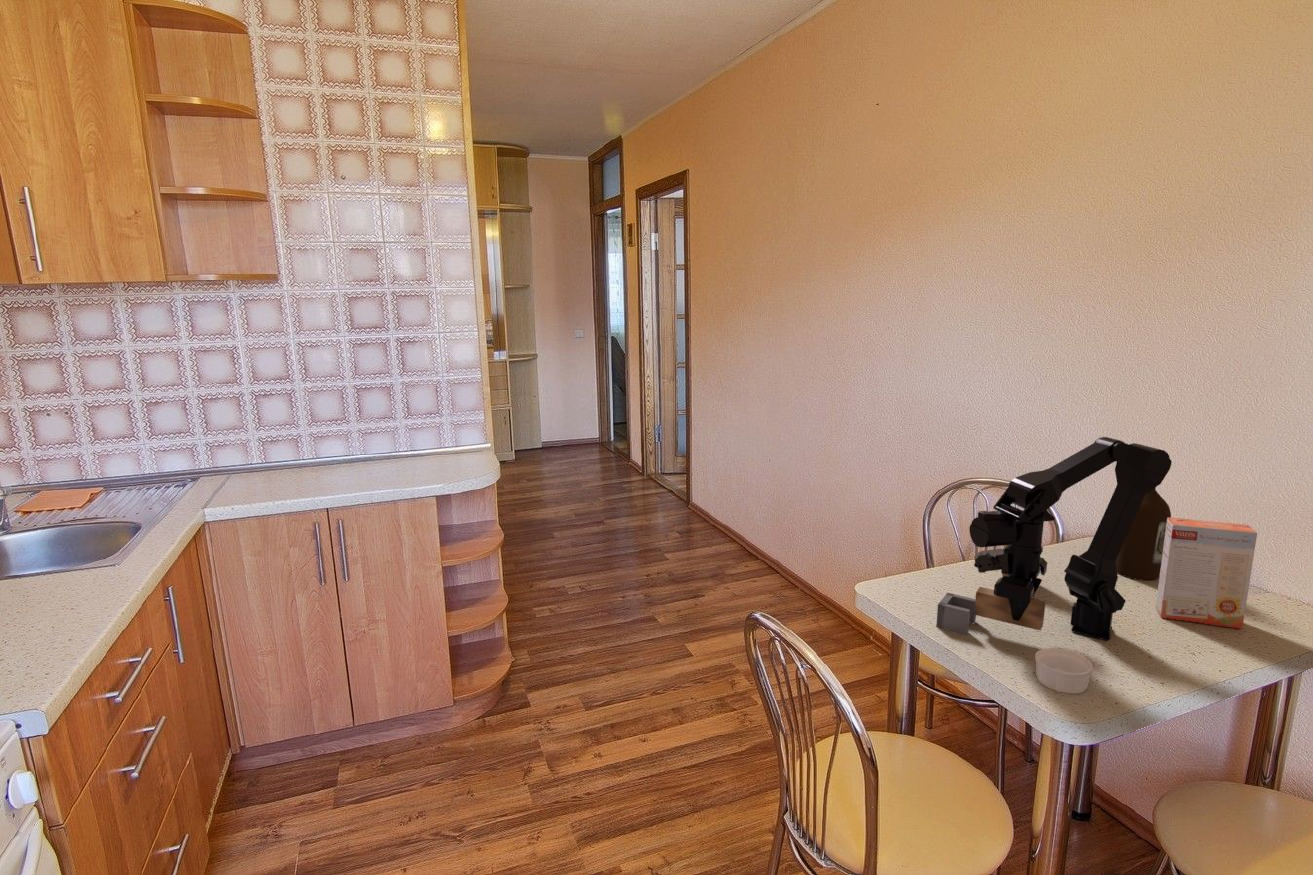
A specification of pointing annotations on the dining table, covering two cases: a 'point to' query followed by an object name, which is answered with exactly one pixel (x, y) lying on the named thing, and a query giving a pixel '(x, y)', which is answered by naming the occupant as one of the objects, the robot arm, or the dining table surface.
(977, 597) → the slat
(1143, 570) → the olive oil
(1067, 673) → the ramekin
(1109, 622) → the robot arm
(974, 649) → the dining table surface
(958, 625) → the end cap
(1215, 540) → the cracker box
